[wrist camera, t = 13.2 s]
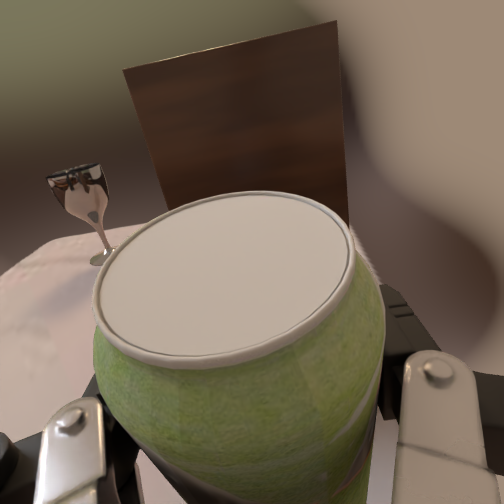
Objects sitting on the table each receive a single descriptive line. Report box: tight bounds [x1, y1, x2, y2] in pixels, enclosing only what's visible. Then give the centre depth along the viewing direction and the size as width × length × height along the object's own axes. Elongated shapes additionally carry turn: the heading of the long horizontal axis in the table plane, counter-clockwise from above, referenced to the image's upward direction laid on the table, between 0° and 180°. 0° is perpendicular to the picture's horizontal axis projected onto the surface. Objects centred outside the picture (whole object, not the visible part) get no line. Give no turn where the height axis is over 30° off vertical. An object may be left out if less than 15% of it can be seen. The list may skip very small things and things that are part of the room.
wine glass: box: [46, 163, 119, 266], centre depth 53 cm, size 8×8×15 cm
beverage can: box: [92, 191, 386, 504], centre depth 10 cm, size 6×7×12 cm
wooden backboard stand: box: [122, 20, 349, 229], centre depth 26 cm, size 19×15×24 cm
